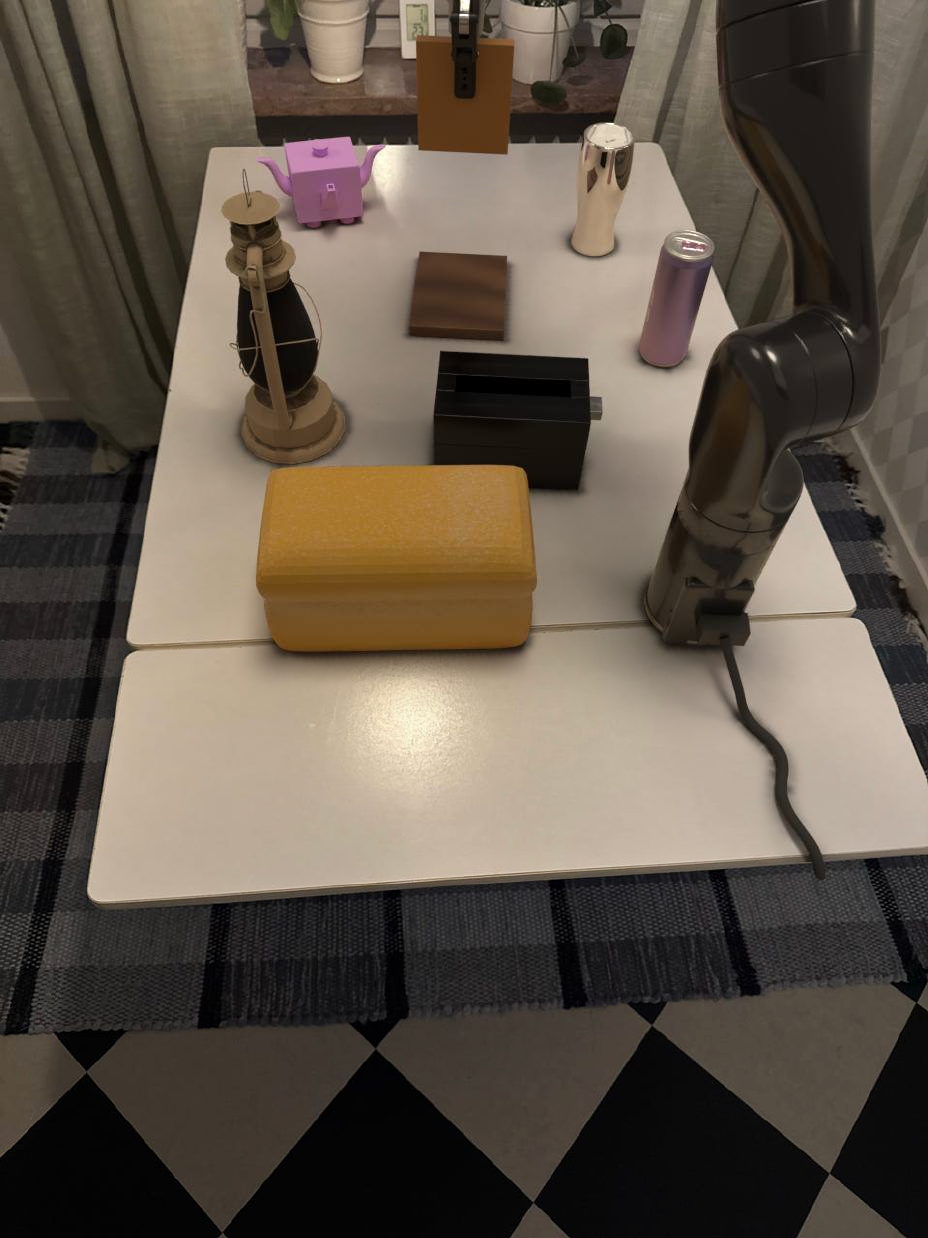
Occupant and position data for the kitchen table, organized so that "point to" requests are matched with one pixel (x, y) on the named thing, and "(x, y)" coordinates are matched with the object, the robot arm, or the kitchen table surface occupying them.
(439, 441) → the toaster
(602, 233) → the beer glass
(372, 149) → the teapot
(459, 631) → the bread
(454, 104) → the toast
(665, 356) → the beverage can
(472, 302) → the board
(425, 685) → the kitchen table surface
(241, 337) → the lantern
